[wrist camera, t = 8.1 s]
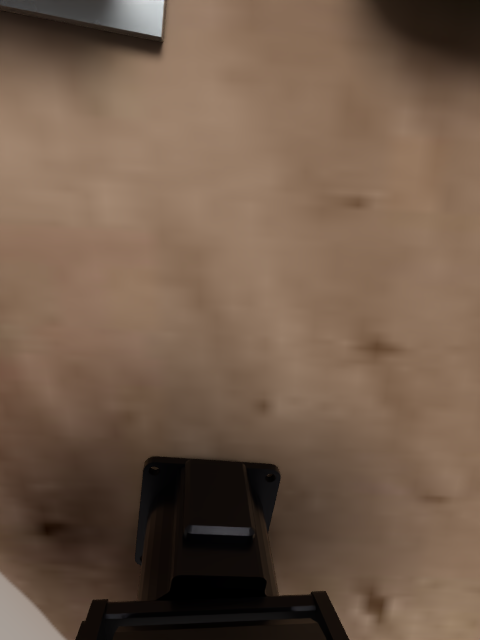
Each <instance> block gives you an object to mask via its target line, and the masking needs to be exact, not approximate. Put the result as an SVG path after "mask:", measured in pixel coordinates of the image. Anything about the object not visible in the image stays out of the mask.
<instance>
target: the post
mask: <svg viewBox="0 0 480 640" xmlns="http://www.w3.org/2000/svg"><path fill="white" fill-rule="evenodd" d="M0 10H2V11H7V12H12V13H17V14H22V15H27V16H32V17H37V18H42V19H47V20H52V21H58V22H63V23H68V24H73V25H78V26H83V27H88V28H93V29H98V30H103V31H108V32H113V33H119V34H124V35H129V36H134V37H139V38H144V39H149V40H154V41H159V42H163V36H164V24H165V12H166V0H0Z"/></svg>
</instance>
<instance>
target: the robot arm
mask: <svg viewBox="0 0 480 640" xmlns="http://www.w3.org/2000/svg"><path fill="white" fill-rule="evenodd" d="M151 467H158V468H159V469H156V470H154V469H152V468H151ZM268 474H273V475H272V476H269V477H268V476H267V475H268ZM280 479H281V475H280V472H279V469H278V467H277V466H275V465H273V464H262V463H247V462H231V461H216V460H201V459H186V458H171V457H151V458H148V459H147V460H146V461H145V464H144V470H143V481H142V491H141V501H140V511H139V522H138V532H137V542H136V553H135V561H136V563H137V564H139V565H141V571H140V579H139V587H138V595H137V601H126V602H108V599H102V600H93V601H92V603H91V606H90V609H89V612H88V615H87V618H86V621H82V623H81V626H80V629H79V632H78V634H77V637H76V639H75V640H349V638H348V636H347V634H346V632H345V630H344V628H343V626H342V624H341V622H340V620H339V618H338V615H337V613H336V611H335V609H334V607H333V605H332V603H331V601H330V599H329V597H328V595H327V593H326V591H315V592H311V594H309V595H283V596H279V592H278V587H277V582H276V576H275V571H274V566H273V560H272V555H271V549H270V544H269V539H268V531H269V526H270V522H271V518H272V513H273V509H274V505H275V500H276V496H277V492H278V488H279V483H280Z"/></svg>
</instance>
